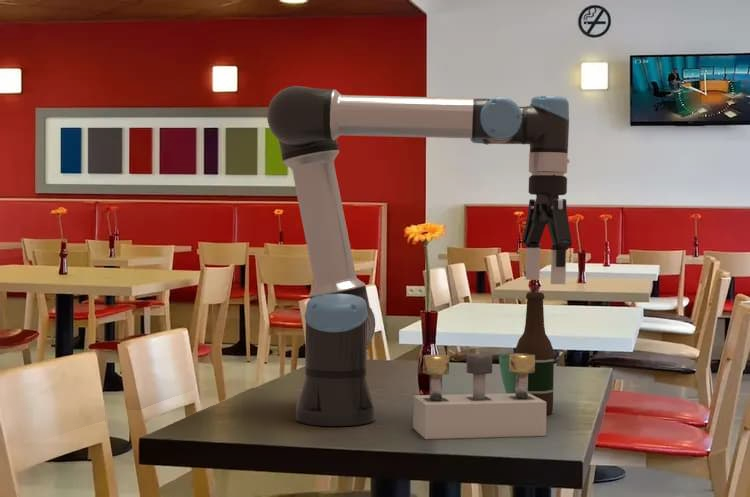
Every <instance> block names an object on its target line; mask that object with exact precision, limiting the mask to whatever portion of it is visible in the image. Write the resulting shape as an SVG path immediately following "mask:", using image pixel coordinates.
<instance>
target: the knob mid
mask: <svg viewBox="0 0 750 497" xmlns="http://www.w3.org/2000/svg"><path fill="white" fill-rule="evenodd" d="M466 373H468V374H472V375H473V377H472V394H473V400H475V401H484V400H485V394H486V375H489V374H492V373H493V355H491V354H486V353H483V354H482V353H471V354H467V355H466Z"/></svg>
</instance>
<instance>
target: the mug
mask: <svg viewBox="0 0 750 497" xmlns="http://www.w3.org/2000/svg"><path fill="white" fill-rule="evenodd" d="M510 354H511V353H510ZM510 354H509V353H508V354H501V355H499V356H498V362H499V368H500V373H501V374H500V375H501V378H502V382H503V386H504V390H505V394H509V393H515V373H512V372H509V355H510Z"/></svg>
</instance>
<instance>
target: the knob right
mask: <svg viewBox="0 0 750 497" xmlns="http://www.w3.org/2000/svg"><path fill="white" fill-rule="evenodd" d="M509 372H512V373H516V399H517V400H527V399H528V373H534V372H535V355H533V354H515V353H510V355H509Z"/></svg>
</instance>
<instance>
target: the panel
mask: <svg viewBox="0 0 750 497" xmlns="http://www.w3.org/2000/svg"><path fill="white" fill-rule="evenodd" d="M546 403H547V402H545V401H543V400H541V399H539V398H537V397H535V396H533V395H532V394H530V393H528V399H527V400H517V399H516V393H509V394H506V393H485V400H484V401H475V400H473V393H471V394H470V393H468V394H467V393H465V394H461V393H460V394H442V401H441V402H432V401H430V394H426V395H425V394H424V395H423V394H422V395H420V394H419V395H418V394H417V395H413V411H412V412H413V417H412V420H413V422H412V424H413V425H412V428H413V429H414V430H415V431H416V432H417V433H418V434H419V436H422V438H424V439H425V440H437V439H438V440H441V439H446V440H447V439H474V438H475V439H477V438H478V439H479V438H513V437H514V438H515V437H546V436H547V415H546Z"/></svg>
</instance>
